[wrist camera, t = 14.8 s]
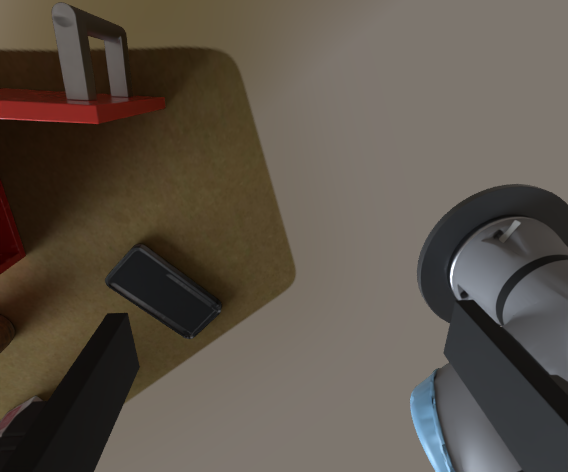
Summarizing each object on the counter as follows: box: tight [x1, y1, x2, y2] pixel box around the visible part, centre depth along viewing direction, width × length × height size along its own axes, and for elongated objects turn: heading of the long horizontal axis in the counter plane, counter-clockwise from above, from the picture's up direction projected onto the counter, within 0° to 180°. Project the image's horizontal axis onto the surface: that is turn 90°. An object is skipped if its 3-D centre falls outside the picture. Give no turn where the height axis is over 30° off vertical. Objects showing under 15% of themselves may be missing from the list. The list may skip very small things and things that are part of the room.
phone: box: [105, 244, 222, 339], centre depth 49 cm, size 8×1×15 cm
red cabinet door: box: [0, 2, 166, 124], centre depth 29 cm, size 8×20×18 cm, turn 87°
